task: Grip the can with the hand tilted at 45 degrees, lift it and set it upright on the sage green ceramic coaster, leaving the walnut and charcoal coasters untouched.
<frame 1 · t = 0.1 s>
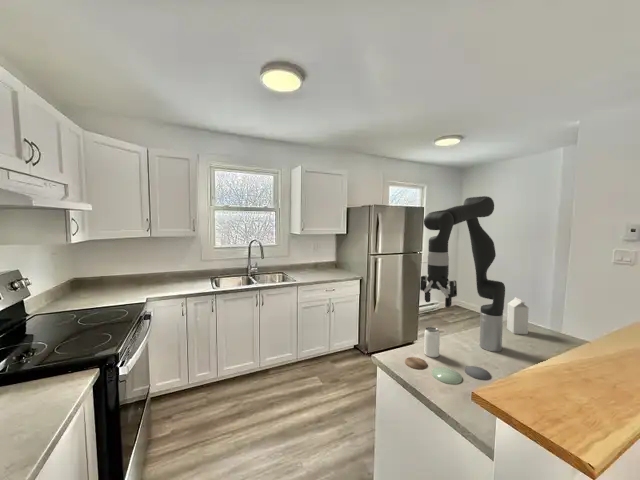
hand: (437, 304, 106), 29 cm above the counter, tool pointing down, fingers open, 8 cm apart
can: (431, 355, 126), on the counter
milk carton: (516, 332, 152), on the counter
sage coaster: (446, 376, 108), on the counter
walnut coaster: (415, 364, 118), on the counter
charcoal coaster: (477, 374, 110), on the counter
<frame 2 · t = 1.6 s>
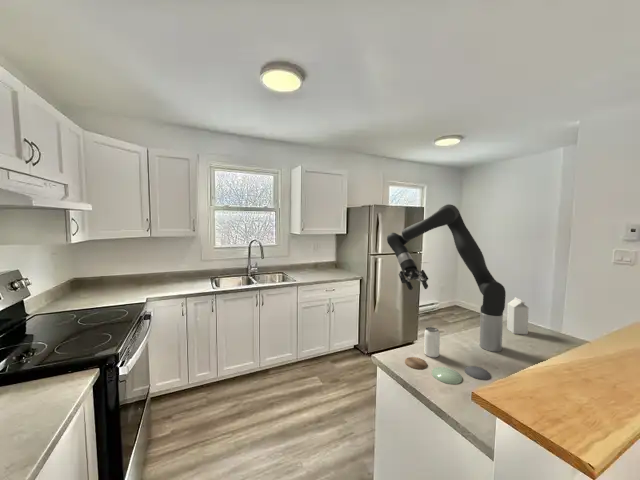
hand: (419, 288, 134), 29 cm above the counter, tool tilted 45°, fingers open, 8 cm apart
nothing on the counter moved.
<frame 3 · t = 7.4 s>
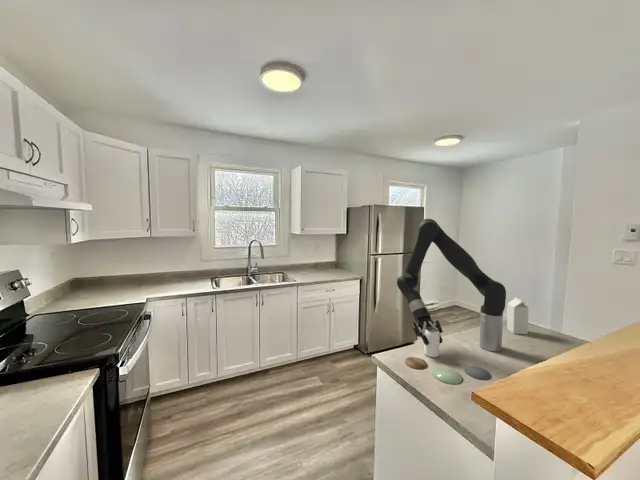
hand: (434, 343, 124), 6 cm above the counter, tool tilted 45°, fingers closed on can, 6 cm apart
can: (431, 355, 126), on the counter, touching gripper
everything else where it was.
when the fingers open (7 cm above the counter, at t = 16.2 s): can stays where it is, resting on sage coaster.
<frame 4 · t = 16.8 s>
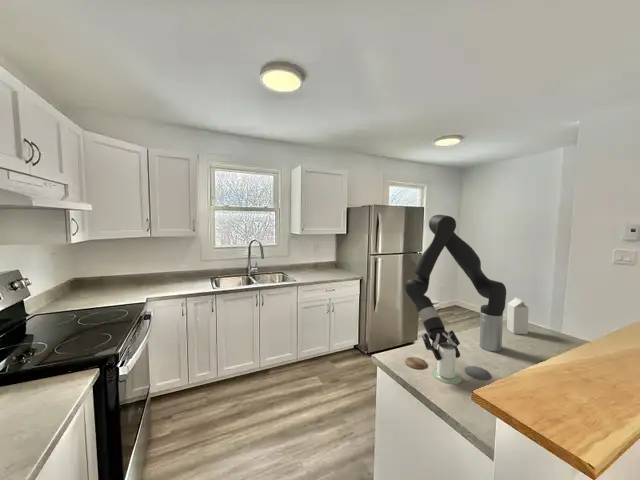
hand: (449, 358, 107), 8 cm above the counter, tool tilted 45°, fingers open, 8 cm apart
can: (445, 375, 108), resting on sage coaster
sage coaster: (446, 377, 108), on the counter, touching can
everything else where it was.
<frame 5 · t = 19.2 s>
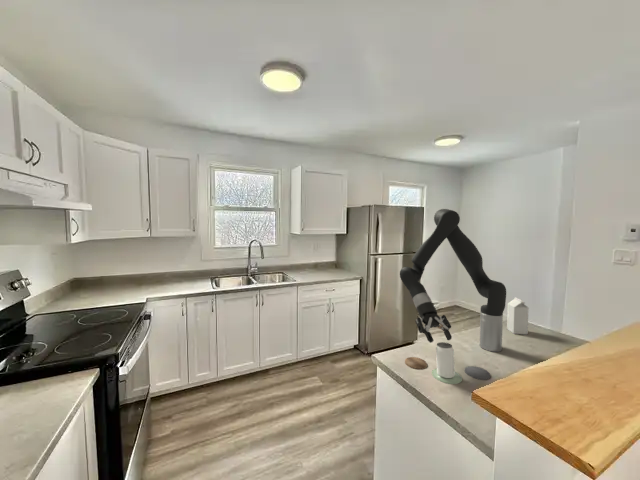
hand: (440, 340, 111), 13 cm above the counter, tool tilted 45°, fingers open, 8 cm apart
can: (445, 375, 108), resting on sage coaster
sage coaster: (446, 377, 108), on the counter
everything else where it was.
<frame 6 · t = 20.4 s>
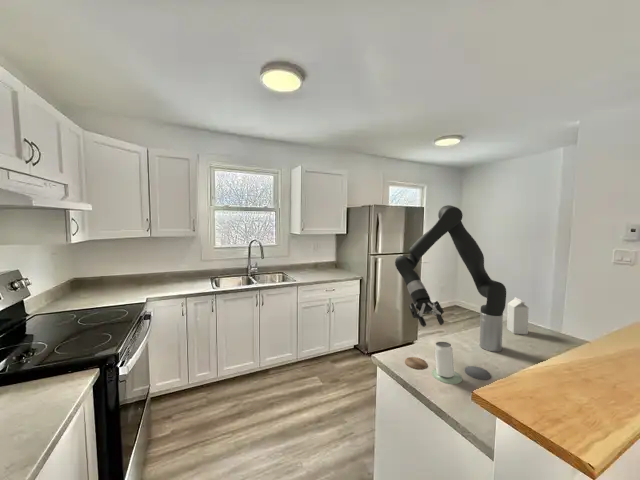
hand: (433, 325, 116), 18 cm above the counter, tool tilted 45°, fingers open, 8 cm apart
can: (445, 374, 108), resting on sage coaster
sage coaster: (446, 377, 108), on the counter, touching can
everything else where it was.
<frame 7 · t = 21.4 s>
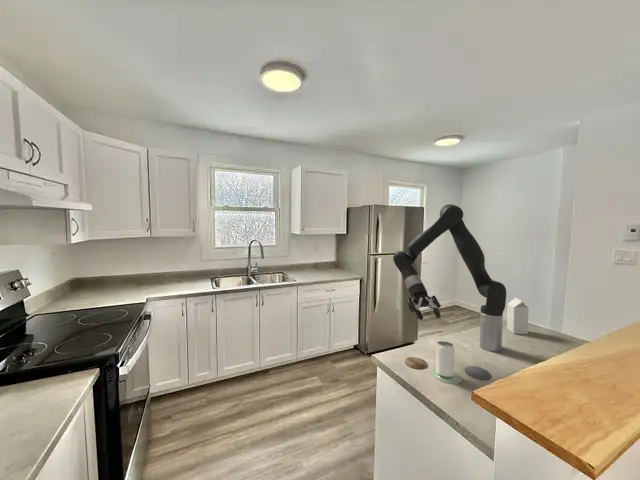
hand: (430, 318, 117), 20 cm above the counter, tool tilted 45°, fingers open, 8 cm apart
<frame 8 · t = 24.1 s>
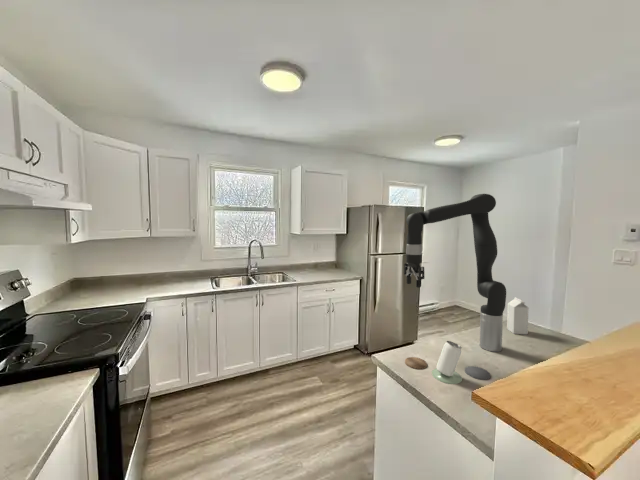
hand: (413, 285, 135), 30 cm above the counter, tool pointing down, fingers open, 8 cm apart
at the end: can inside the target area on the sage coaster (0.9 cm from its centre), point 1.8 cm above the sage coaster's base; walnut coaster moved 0.4 cm from its start; charcoal coaster moved 0.4 cm from its start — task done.
